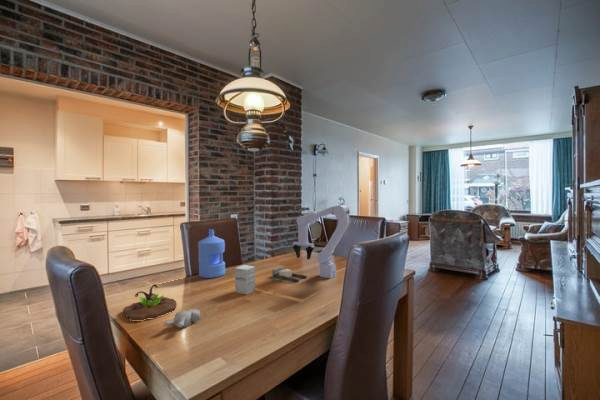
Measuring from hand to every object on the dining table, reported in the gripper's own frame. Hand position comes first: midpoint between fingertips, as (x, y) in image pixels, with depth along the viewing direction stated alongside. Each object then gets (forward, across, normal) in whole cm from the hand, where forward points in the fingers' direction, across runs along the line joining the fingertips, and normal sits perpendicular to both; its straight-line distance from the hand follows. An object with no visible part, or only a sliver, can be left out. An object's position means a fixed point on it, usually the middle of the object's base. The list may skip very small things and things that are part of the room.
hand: (303, 258), depth 172 cm
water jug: (+10, +48, +30) cm, 57 cm away
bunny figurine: (+10, +1, +78) cm, 79 cm away
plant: (+10, +25, +79) cm, 83 cm away
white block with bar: (+9, +4, +15) cm, 18 cm away
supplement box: (+10, +8, +40) cm, 42 cm away
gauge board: (+10, +1, +14) cm, 17 cm away
